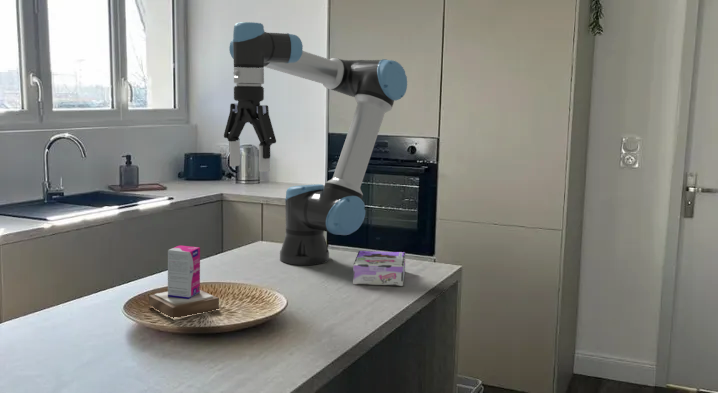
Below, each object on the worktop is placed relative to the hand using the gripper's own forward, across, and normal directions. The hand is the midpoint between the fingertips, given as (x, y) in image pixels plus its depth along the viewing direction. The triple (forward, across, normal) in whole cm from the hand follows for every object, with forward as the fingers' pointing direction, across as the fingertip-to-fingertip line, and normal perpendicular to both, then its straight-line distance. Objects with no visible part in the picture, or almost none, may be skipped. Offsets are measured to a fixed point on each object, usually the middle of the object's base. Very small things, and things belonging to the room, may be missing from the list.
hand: (249, 168), depth 185 cm
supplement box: (+28, +5, -22) cm, 36 cm away
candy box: (+29, +9, +40) cm, 50 cm away
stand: (+32, +5, -22) cm, 39 cm away
